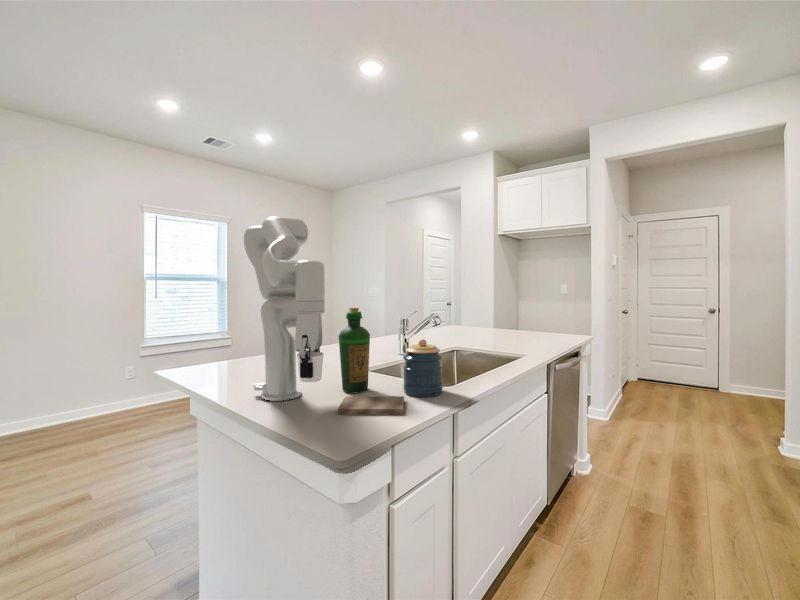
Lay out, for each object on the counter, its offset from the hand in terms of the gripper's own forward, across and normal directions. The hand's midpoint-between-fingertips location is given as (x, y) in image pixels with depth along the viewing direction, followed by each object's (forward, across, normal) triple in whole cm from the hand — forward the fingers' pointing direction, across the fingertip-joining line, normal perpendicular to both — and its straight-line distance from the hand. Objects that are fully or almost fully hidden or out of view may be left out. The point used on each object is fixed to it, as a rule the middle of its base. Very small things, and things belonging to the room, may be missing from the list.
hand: (310, 373), depth 99 cm
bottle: (+13, -27, +8) cm, 31 cm away
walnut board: (+12, -8, +16) cm, 21 cm away
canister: (+12, -24, +31) cm, 41 cm away
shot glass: (+2, 0, 0) cm, 2 cm away
